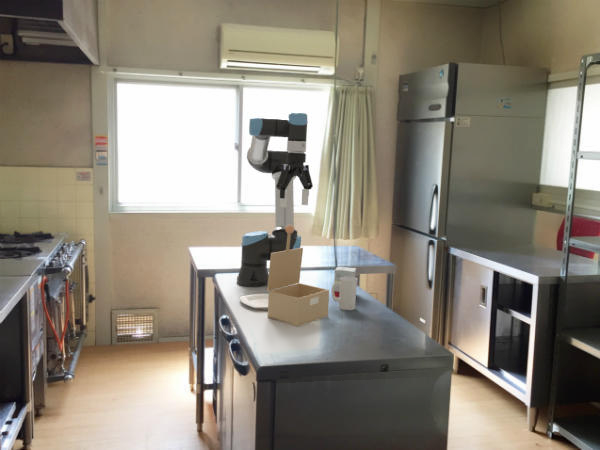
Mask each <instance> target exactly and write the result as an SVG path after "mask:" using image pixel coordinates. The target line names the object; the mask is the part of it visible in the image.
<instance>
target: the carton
mask: <svg viewBox="0 0 600 450" xmlns="http://www.w3.org/2000/svg"><path fill="white" fill-rule="evenodd" d="M268 294H269V298H268V309H267V319H271V320H274V321H277V322H281V323H284V324H287V325H291V326H295V327H300V326H304V325H306V324H308V323H311V322H314V321H318V320H320V319H321V320H322V319H323V318H326V317H328V316H329V304H330V303H329V299H330V290H329V289H326V288H321V287H318V286H314V285H309V284H304V283H301V282H299V283H297V284H293V285H289V286H285V287H281V288H277V289H273V290H270V291H268Z"/></svg>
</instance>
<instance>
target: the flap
mask: <svg viewBox="0 0 600 450" xmlns="http://www.w3.org/2000/svg"><path fill="white" fill-rule="evenodd" d="M294 229H295V226H294V227H293V226H292V225H288V226H287V227H286V229H285V230H286V232H287V233H288V235H287V245H286V250H285V251H280V252H275V253H271V257H270V261H269V270H268V274H269V277H268V285H267V288H266V290H267V292H269V291H271V290H275V289H279V288H283V287H287V286H291V285H295V284H299V283H300V278H301V270H302V259H303V251H304V247H300V248H297V249H292V250H289V248H290V238H291V233H293V232H294Z"/></svg>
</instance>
